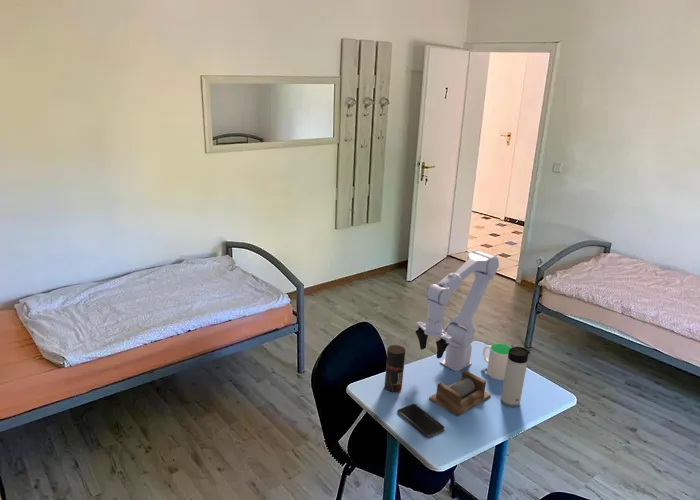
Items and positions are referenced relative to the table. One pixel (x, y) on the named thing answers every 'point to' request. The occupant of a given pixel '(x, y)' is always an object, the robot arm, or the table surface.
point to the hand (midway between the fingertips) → (431, 353)
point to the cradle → (460, 395)
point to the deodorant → (394, 368)
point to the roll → (464, 387)
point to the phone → (420, 420)
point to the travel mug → (514, 376)
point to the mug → (497, 360)
